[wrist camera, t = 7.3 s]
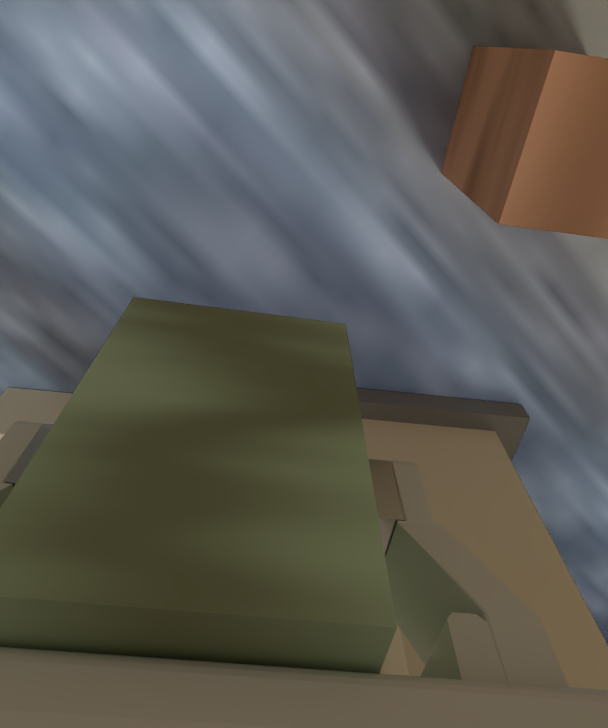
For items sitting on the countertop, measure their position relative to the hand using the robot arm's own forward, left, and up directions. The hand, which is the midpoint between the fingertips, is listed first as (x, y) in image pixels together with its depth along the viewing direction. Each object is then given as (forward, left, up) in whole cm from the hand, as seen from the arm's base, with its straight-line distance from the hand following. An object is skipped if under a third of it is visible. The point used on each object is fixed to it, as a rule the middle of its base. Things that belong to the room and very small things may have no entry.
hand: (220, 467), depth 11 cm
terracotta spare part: (-9, -6, -15) cm, 18 cm away
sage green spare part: (0, 0, -2) cm, 2 cm away
